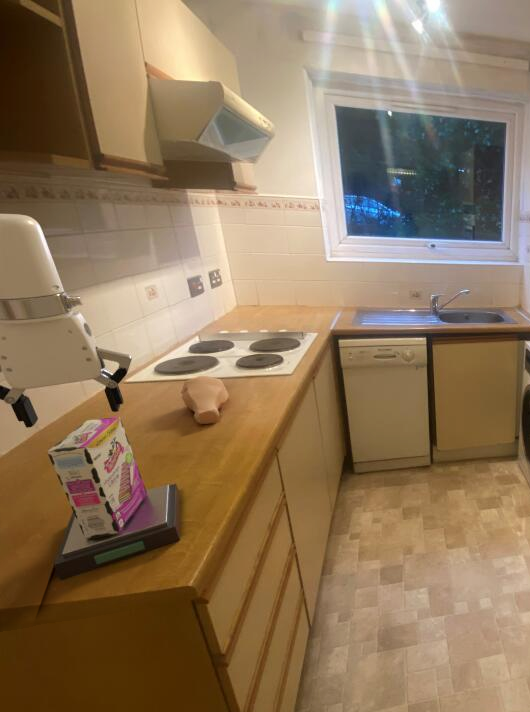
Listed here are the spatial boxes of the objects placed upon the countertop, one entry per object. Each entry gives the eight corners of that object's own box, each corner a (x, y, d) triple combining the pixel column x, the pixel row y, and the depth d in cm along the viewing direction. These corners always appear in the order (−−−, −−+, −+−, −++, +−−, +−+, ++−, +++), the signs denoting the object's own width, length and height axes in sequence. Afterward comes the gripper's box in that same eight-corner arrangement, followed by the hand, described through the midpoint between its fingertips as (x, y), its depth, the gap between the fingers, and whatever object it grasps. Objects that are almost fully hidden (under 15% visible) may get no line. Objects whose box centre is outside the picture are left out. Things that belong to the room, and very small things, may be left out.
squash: (226, 395, 131) (225, 368, 128) (234, 429, 118) (234, 399, 114) (181, 398, 125) (179, 370, 121) (185, 434, 111) (182, 403, 108)
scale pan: (63, 558, 67) (61, 554, 67) (79, 512, 77) (77, 509, 77) (167, 525, 74) (166, 521, 74) (169, 487, 84) (168, 484, 83)
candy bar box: (122, 533, 71) (85, 447, 65) (84, 540, 69) (42, 452, 63) (150, 493, 81) (121, 415, 74) (118, 498, 79) (85, 419, 73)
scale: (60, 582, 67) (52, 567, 65) (78, 525, 78) (72, 511, 77) (179, 542, 74) (174, 528, 73) (180, 495, 86) (176, 483, 85)
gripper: (115, 297, 69) (148, 395, 75) (-50, 309, 59) (3, 420, 66) (109, 306, 63) (145, 412, 69) (-75, 320, 54) (-14, 441, 60)
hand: (76, 416), depth 68 cm, fingers open, 9 cm apart
